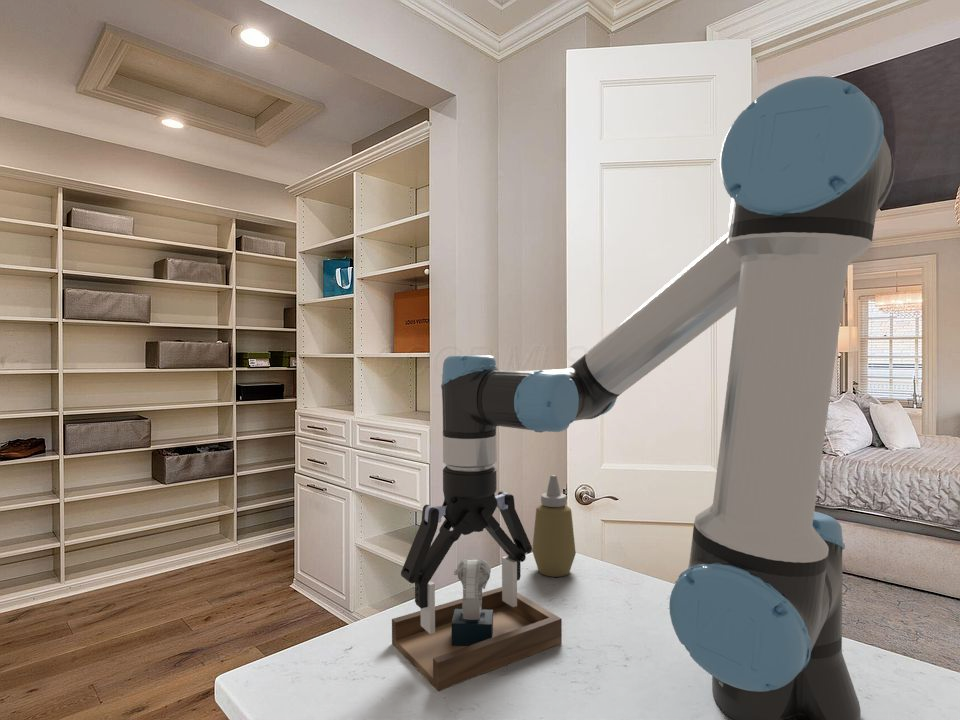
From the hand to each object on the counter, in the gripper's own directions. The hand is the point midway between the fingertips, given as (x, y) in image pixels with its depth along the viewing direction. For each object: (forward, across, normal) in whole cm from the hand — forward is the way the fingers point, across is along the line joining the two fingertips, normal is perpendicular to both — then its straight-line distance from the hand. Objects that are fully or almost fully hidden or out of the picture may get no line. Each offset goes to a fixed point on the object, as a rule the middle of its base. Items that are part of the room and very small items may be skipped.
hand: (470, 615), depth 79 cm
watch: (+3, 0, 0) cm, 3 cm away
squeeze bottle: (+4, -27, -14) cm, 31 cm away
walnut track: (+4, -1, 0) cm, 4 cm away
